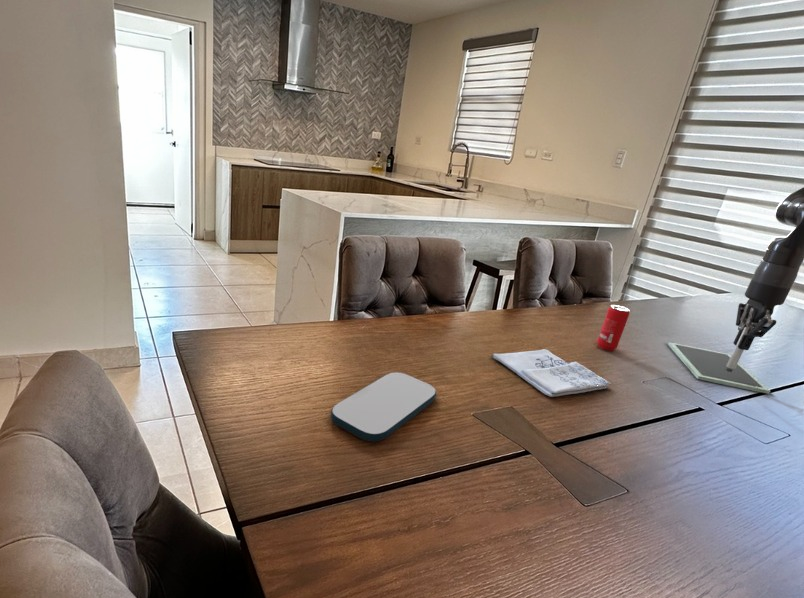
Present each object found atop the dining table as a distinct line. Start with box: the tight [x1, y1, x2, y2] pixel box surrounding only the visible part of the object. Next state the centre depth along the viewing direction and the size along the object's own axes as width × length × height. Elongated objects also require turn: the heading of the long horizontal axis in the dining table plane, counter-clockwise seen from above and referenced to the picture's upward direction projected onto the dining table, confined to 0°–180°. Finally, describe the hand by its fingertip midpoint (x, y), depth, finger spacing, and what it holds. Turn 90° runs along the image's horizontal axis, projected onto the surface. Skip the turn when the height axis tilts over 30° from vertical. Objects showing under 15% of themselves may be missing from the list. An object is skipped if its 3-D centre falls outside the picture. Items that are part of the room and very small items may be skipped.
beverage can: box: [596, 304, 630, 352], centre depth 130 cm, size 5×5×12 cm
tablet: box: [667, 341, 771, 395], centre depth 128 cm, size 16×23×1 cm
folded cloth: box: [492, 348, 612, 398], centre depth 112 cm, size 19×20×2 cm
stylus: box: [726, 327, 752, 372], centre depth 119 cm, size 2×2×12 cm
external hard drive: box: [330, 371, 437, 443], centre depth 90 cm, size 24×12×2 cm, turn 143°
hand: (740, 346), depth 118 cm, fingers closed on stylus, 2 cm apart
